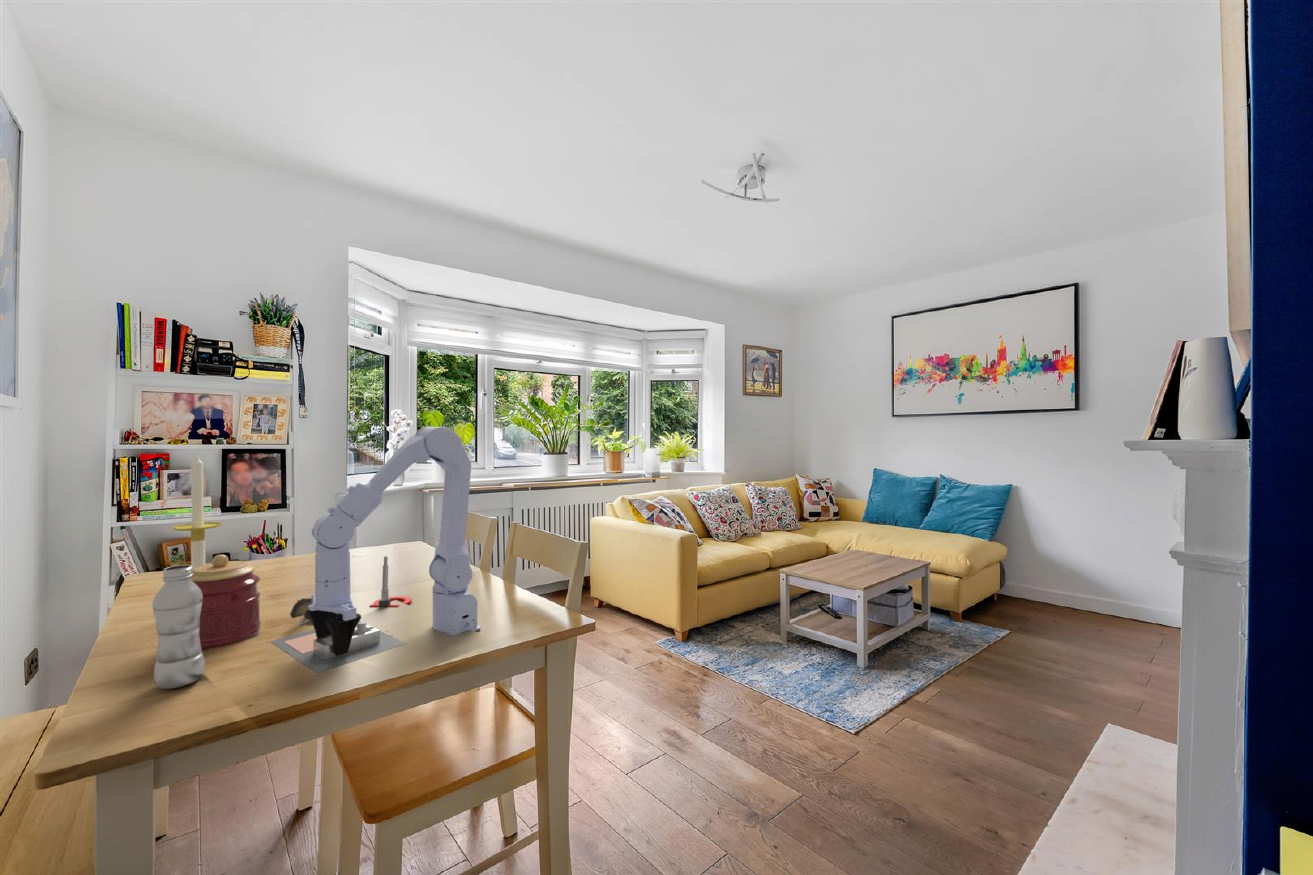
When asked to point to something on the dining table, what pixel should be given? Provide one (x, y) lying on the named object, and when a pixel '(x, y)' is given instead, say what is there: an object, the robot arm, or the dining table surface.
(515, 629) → the dining table surface
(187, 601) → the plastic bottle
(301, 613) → the eagle figurine
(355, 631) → the c link
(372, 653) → the post board
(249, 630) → the canister
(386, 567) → the tow hook
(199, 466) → the candle
